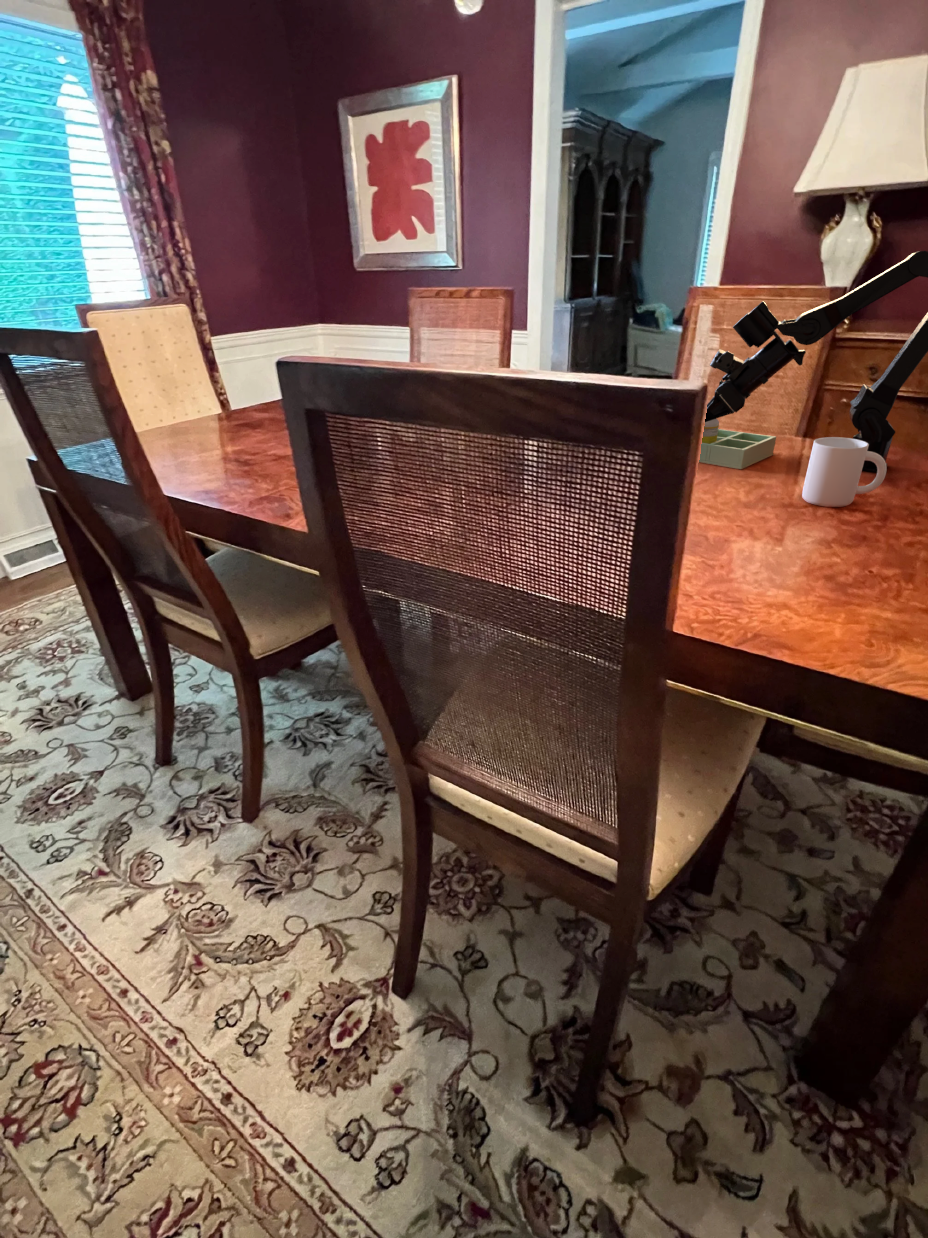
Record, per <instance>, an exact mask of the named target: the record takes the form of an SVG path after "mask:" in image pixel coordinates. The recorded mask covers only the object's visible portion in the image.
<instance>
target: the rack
mask: <svg viewBox="0 0 928 1238" xmlns="http://www.w3.org/2000/svg"><path fill="white" fill-rule="evenodd" d="M776 441H777V435H776V436H775V435H767V434H759V433H754V432H753V433H752V432H744V431H737V430H730V429H721V428H718V435H717V441H716V442H713V443H711V444H707V443H702V444H701V454H700V460H699V462H698V463H700V464H706V465H713V466H719V467H725V468H730V469H737V470H743V469H746V468H747V467H750V466H752V465H753V464H756V463H758V462H761V461H763V460H765V459H768V458H770V457H771V456H774V451H775V446H776Z"/></svg>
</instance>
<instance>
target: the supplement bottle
mask: <svg viewBox="0 0 928 1238" xmlns="http://www.w3.org/2000/svg"><path fill="white" fill-rule="evenodd" d="M719 427H720V421H719V418H716V419H713V420H711V421H708V422H705V426H704V432H703V438H702V443H707V444H711V443H713V442H716V441H717V435H718V429H720V428H719Z"/></svg>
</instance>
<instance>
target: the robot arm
mask: <svg viewBox="0 0 928 1238" xmlns="http://www.w3.org/2000/svg"><path fill="white" fill-rule="evenodd" d="M918 277H922V278H926V279H928V251H927V250H920V251H919V250H918V251H915V252H913V253H911V254H910V255H908V256H907V257H906V258H904V260H901V261H900V262H898V263H897V264H895V265H893V266H891V267H890V268H888V269H886V270H884V271H883V272H882V273H880V274H878V275H876V276H875V277H873V278H871V279H869V280H868V281H866V282H865V283H863V284H861V285H859V286H858V287H856V288H854V289H853V290H851V291H849V292H848V293H846V294H845V295H843V296H841V297H839V298H837V299H834V300H832V301H829V302H826V303H824V304H822V305H819V306H817V307H814V308H811V309H809V310H807V311H805V312H803V313H801V314H800V315H798V316H797V317H796V318H793V319H787V320H786V319H785V318H784V319H783V320H779V319H778V318H776V316H775V315H774V314H773V313H772V311H771V310H770V308H769V306H768V305H767V304H766V302H765V301H764V300H763V301H761V302H760V303H759V304H758V305H757V306H755V307H754V308H753V309H752V310H751V311H750V312H747V313H746V314H745V315H744V316H742V317H741V318H740V319H739V320H738V321H737V322H736V323H734V325H733V326H732V329H733V330H734V331H735V332H736V333H737V334H738V335H739V337H740V338H741V339H742V340H743V342H744V343H745V344H746V345H747V347H749V348H752V347H756V348H758V349H759V348H760V347H762V346H763V345H764V344H765V343H766V342H767V341H769V340H770V339H771V338H772V337H773V336H774V338H772V340H770V341H769V342H768V343H767V344H765V345H764V346H763V347H762V348H760V350H759V351H757V352H756V353H754V355H752V356H748V357H747V358H745V360H743V359H741V358H739V357H738V356H735V353H734V352H733V353H732V352H730V350H723V349H721V348H720V349H718V350H717V352H716V353H715V355H714V357H713V359H712V360H711V361H710V363H709V366H710V367H711V368H713V369H716V370H718V371H721V372H723V373H725V374H724V375H723V376H722V377H721V379H720V380H719V384H718V386H717V388H715V390H714V394H713V397H712V398H711V399H710V400H709V401H708V402H707V404H706V405H707V413H706V419H705V422H708V421H711V420H713V419H719V418H722V417H726V416H728V415H733V414H735V413H738V412H739V411H740V410H742V409H743V408H744V407H745V403H746V399H748V398H749V397H751V394H752V393H753V392H755V391H756V390H757V389H758V388H760V387H761V386H762V385H765V384H767V383H769V380H770V379H771V378H772V377H773V376H774V375H775V374H777V373H778V372H779V371H780V370H782V369H783V368H784V367H786V366H787V365H788V364H789V363H790V362H792V361H793V360H794V361H795V363H796V364H797V365H798V366H801V367H802V366H803V364H804V362H803V361H804V357H805V354H806V352H807V351H806V349H799V348H798V346H797V345H796V344H795V343H794V342H793V341H792V340H791V339H788V340H786V341H785V340H784V339H783V338H782V337H781V336H780V335H779V333H780V334H782V336H786V337H790V338H791V337H792V338H793V339H794V340H795V342H796V343H798V344H799V345H803V346H811V345H813V344H816V343H818V342H819V341H820V340H821V339H823V338H824V337H826V335H828V334H829V333H831V331H833V330H834V329H836V327H838V326H839V325H840V324H841V323H842V322H844V321H845V320H846V319H847V318H849V317H850V316H852V315H853V314H856V313H857V312H859V311H860V310H862V309H864V308H866V307H867V306H869V305H871V304H873V303H874V302H876V301H878V300H880V299H881V298H883V297H885V296H886V295H889V294H890V293H892V292H894V291H895V290H897V289H898V288H901V287H903V286H904V285H906V284H907V283H909V282H911V281H913V280H914V279H916V278H918ZM776 330H778V331H779V333H778V332H777V331H776ZM927 353H928V312H927V313H925V315H924V317H922V319H921V320H920V322H919V323H918V325H917V326H916V327H915V329H914V331H913V332H911V335H910V336H909V337H908V339H907V340H906V341H905V343H904V345H903V346H902V347H901V349H899V351H898V352H897V353H896V355H895V357H894V358H893V359H892V361H891V363H890V364H889V365H888V366H887V368H886V369H885V371H884V372H883V374H882V375H881V376H880V378H879V379H878V380H877V381H875V382H874V383H873V384H872V385H871V386H868V385H866V384H865V383H864V384H862V386H861V387H860V389H859V391H858V393H857V395H856V396H855V397H854V399H852V400H851V401H850V402H849V403H850V406H851V407H850V409H849V411H848V415H849V419H850V422H851V424H852V426H853V427H854V428H855V429H856V430H857V433H856V434H855V435H853V437H852V439H857V440H861V441H864V442H867V443H868V444H869V446H868V450H867V451H871V452H875V453H877V454H879V455H880V456H882V457H883V459H884V460H885V462H886V467H888V463H887V458H888V455H889V452H890V448H891V445H892V441H893V437H894V436H895V434H896V430H895V429H894V428H893V426H892V424H891V422H889V420H888V419H887V418H888V416H889V414H890V412H891V411H892V408H893V407H894V405H895V402H896V399H897V397H898V394H899V392H900V390H901V388H902V387H903V386H904V384H905V383H906V382H907V380H908V379H909V377H910V376H911V375H912V374H913V372H914V371H915V369H916V368H917V367H918V366H919V364H920V363H921V361H922V360H923V359H924V357H926V355H927ZM862 471H866V472H873V473H877V466H876V464H875V463H874V462H872V461H867V460H865V461H864V465H863V468H862Z"/></svg>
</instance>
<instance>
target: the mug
mask: <svg viewBox="0 0 928 1238" xmlns="http://www.w3.org/2000/svg"><path fill="white" fill-rule="evenodd" d="M868 446H869V444H868V443H867V442H864V441H861V440H857V439H853V438H851V437H841V436H840V437H839V436H828V437H827V436H826V437H819V438H815V439H814V440H813V444H812V448H811V452H810V455H809V460H808V465H807V469H806V474H805V478H804V483H803V486H802V492H801V498H802V499H803V501H805V502H806V503H809V504H811V505H814V506H818V507H826V508H842V507H847V506H849V505H851V504H852V503H853V502H854V499H855V497H856V495H865V494H869V493H871V492H873V491H875V490H876V489H878V488H879V487H880V486H881V484H883V482H884V480H885V478H886V475H887V470H888V469H887V467H888V466H886V463H887V461H886V462H885V460H884V459H883V457H882V456H880V455H879V454H877V453H875V452H871V451H867V450H868ZM865 460H867V461H872V462H874V463H875V464H876V466H877V472H876V474H875V475H876V476H875V477H874V479H873V480H872V481H871V482H870V483H869V484H866V485H859V483H860V479H861V476H862V471H863V470H862V468H863V465H864V461H865Z"/></svg>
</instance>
